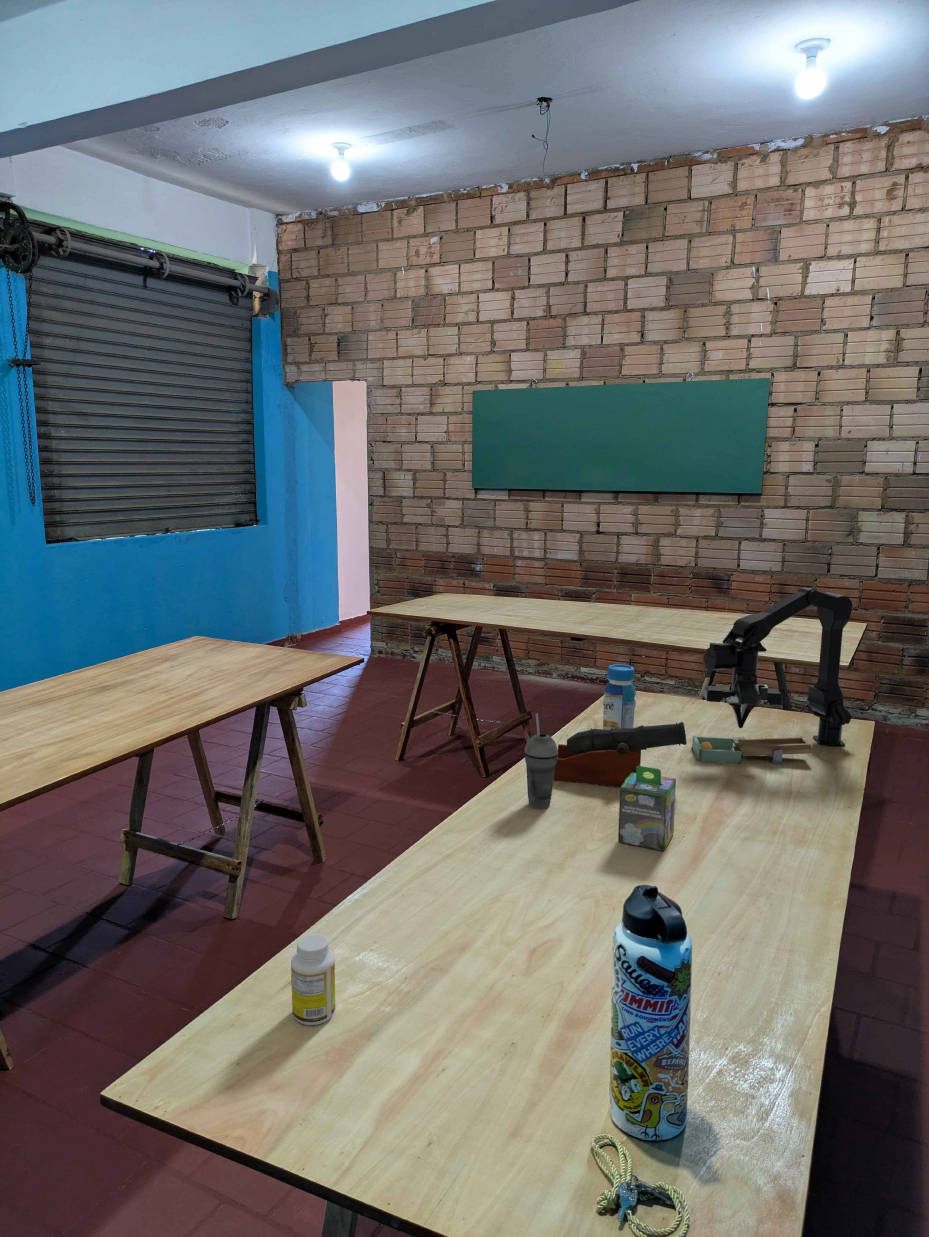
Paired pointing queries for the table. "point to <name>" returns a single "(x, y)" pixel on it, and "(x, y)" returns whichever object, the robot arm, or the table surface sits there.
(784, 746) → the chute
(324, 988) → the supplement bottle
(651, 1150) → the table surface
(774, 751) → the fulcrum
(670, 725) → the cannon model
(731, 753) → the tray
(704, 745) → the ball
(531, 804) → the beverage cup
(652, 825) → the chalk box
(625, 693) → the beverage bottle
